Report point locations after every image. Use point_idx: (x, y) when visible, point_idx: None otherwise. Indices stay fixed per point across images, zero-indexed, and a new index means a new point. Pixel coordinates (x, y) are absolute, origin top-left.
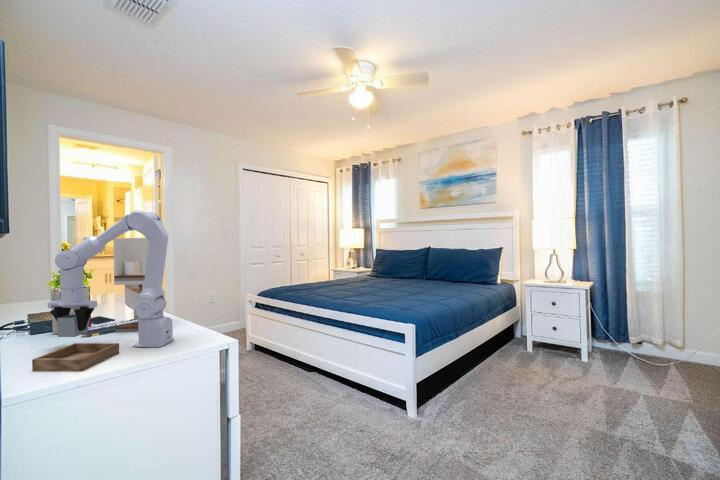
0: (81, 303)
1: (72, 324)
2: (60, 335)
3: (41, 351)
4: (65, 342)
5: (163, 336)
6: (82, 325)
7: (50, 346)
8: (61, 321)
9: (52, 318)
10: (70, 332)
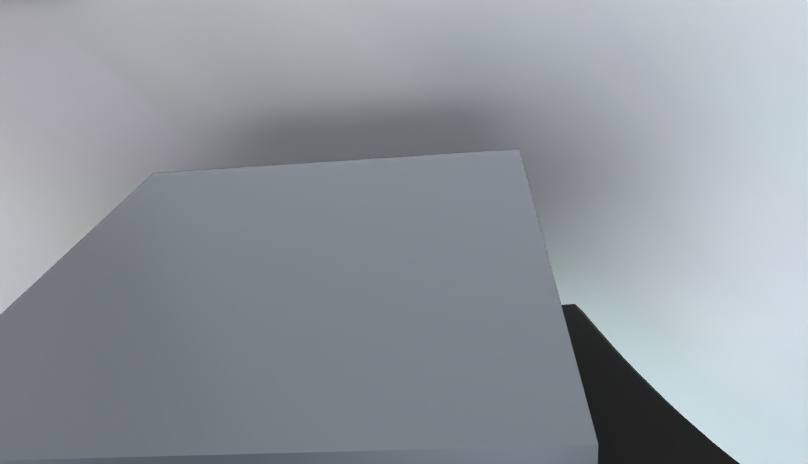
0: None
1: (53, 313)
2: (452, 163)
3: (737, 6)
4: (706, 392)
5: None
6: None
7: (790, 233)
8: (397, 354)
9: None
10: (208, 208)
